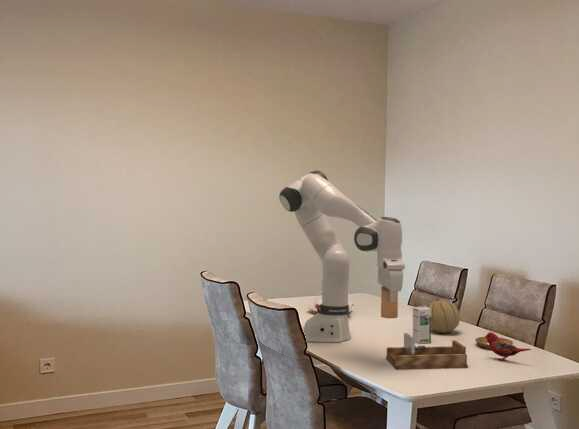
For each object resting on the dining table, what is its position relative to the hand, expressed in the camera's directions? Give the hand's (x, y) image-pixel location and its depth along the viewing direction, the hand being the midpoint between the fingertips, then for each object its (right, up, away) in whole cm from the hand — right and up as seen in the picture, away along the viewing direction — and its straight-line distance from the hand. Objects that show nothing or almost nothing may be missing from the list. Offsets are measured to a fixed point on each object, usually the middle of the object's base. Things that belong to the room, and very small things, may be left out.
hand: (389, 300), depth 229 cm
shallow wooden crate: (+14, -23, +1) cm, 27 cm away
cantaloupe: (+32, -22, +52) cm, 65 cm away
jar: (0, -6, 0) cm, 6 cm away
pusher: (+10, -22, +1) cm, 24 cm away
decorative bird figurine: (+45, -24, +5) cm, 51 cm away
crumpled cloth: (-14, -20, +92) cm, 95 cm away
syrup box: (+19, -22, +34) cm, 45 cm away
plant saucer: (+47, -23, +27) cm, 59 cm away
